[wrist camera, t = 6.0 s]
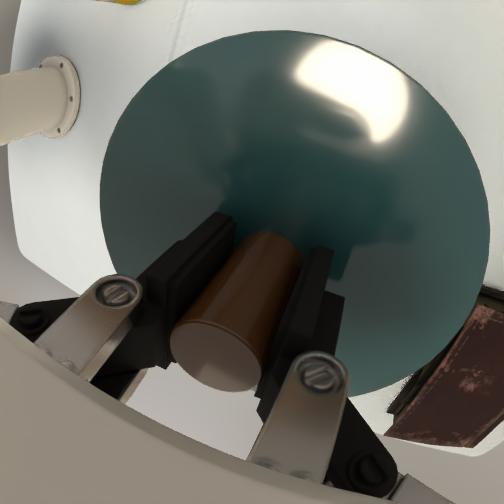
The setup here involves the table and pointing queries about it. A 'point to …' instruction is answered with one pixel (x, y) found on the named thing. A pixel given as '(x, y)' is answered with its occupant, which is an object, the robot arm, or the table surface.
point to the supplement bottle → (124, 1)
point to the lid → (300, 201)
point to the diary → (458, 384)
